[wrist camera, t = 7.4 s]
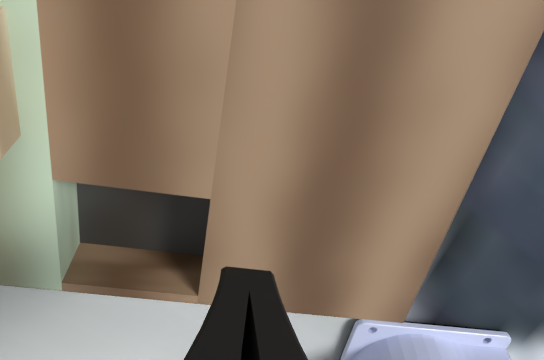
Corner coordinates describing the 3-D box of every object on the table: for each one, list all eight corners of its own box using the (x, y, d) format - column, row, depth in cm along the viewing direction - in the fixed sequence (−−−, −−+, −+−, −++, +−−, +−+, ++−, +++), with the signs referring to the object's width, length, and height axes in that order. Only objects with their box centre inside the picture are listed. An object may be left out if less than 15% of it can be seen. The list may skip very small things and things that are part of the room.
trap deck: (580, -175, 15) (646, -183, 13) (388, 278, 26) (403, 322, 23) (-189, -360, 12) (-299, -415, 10) (-47, 232, 23) (-83, 277, 21)
